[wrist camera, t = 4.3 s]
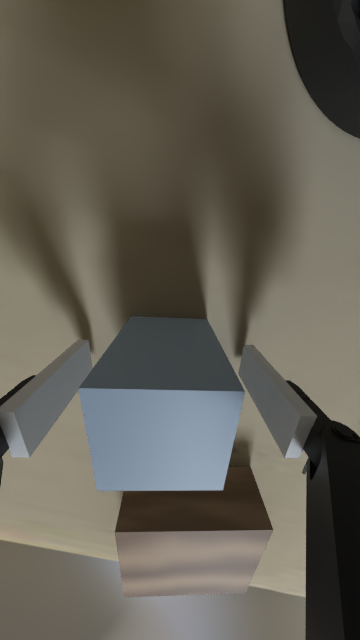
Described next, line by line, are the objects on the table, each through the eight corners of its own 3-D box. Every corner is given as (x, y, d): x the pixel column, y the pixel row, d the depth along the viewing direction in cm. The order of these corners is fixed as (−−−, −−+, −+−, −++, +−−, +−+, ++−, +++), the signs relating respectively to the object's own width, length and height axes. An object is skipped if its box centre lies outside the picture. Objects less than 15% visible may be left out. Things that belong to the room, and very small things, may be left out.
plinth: (129, 466, 20) (114, 532, 15) (250, 466, 20) (273, 529, 16) (133, 531, 24) (124, 597, 20) (232, 530, 25) (245, 593, 20)
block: (131, 316, 14) (78, 388, 6) (207, 319, 14) (245, 391, 6) (134, 378, 16) (97, 490, 8) (200, 380, 16) (222, 490, 8)
